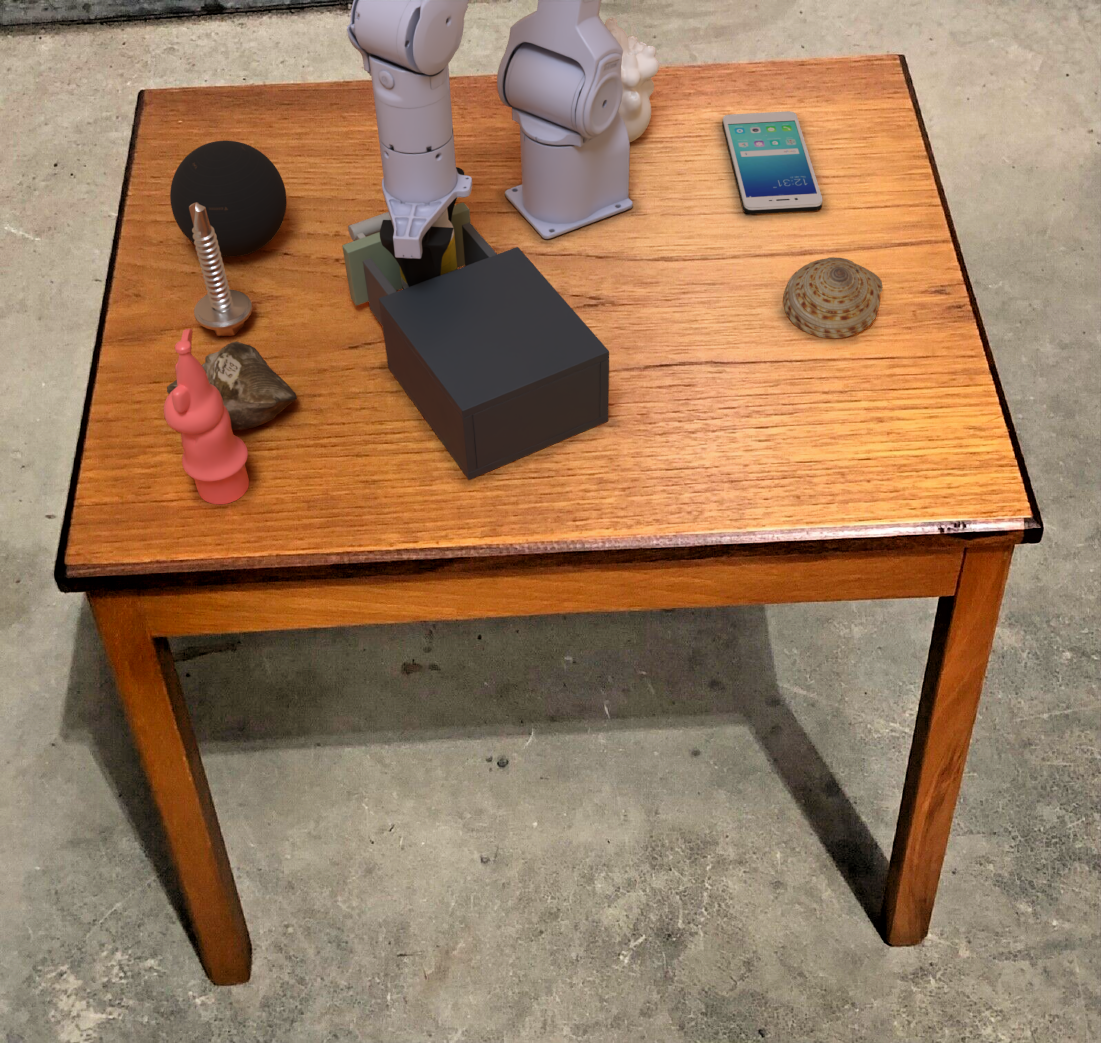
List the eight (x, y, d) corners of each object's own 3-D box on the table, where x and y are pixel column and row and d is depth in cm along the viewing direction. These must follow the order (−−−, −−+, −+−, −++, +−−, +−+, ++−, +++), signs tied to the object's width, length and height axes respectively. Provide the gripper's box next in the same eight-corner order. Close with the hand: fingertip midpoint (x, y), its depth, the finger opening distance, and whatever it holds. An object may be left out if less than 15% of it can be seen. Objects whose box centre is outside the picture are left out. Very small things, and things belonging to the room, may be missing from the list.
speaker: (219, 295, 126) (195, 201, 118) (163, 240, 131) (137, 147, 123) (315, 248, 130) (298, 155, 122) (258, 196, 135) (238, 104, 127)
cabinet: (388, 368, 119) (378, 298, 113) (521, 316, 123) (517, 246, 117) (468, 480, 111) (462, 410, 105) (608, 421, 115) (609, 351, 109)
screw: (202, 309, 125) (258, 307, 125) (195, 347, 121) (252, 344, 121) (169, 185, 115) (230, 183, 115) (160, 223, 111) (223, 220, 112)
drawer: (330, 270, 126) (321, 217, 122) (446, 229, 130) (440, 175, 125) (419, 392, 116) (412, 339, 112) (542, 344, 119) (540, 290, 115)
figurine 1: (191, 462, 113) (146, 318, 101) (257, 458, 113) (219, 313, 101) (186, 512, 109) (139, 368, 98) (253, 506, 110) (214, 362, 98)
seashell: (897, 262, 123) (879, 285, 117) (880, 323, 126) (862, 350, 119) (805, 238, 126) (783, 260, 119) (791, 299, 128) (768, 323, 122)
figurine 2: (669, 144, 139) (674, 32, 130) (612, 168, 137) (614, 55, 127) (626, 111, 143) (629, -1, 134) (571, 133, 140) (570, 21, 131)
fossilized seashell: (143, 409, 113) (253, 460, 112) (162, 332, 111) (275, 384, 109) (192, 390, 120) (296, 438, 118) (212, 317, 118) (318, 365, 116)
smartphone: (796, 110, 141) (825, 203, 131) (795, 117, 141) (824, 211, 131) (720, 114, 140) (744, 208, 131) (720, 121, 141) (743, 215, 131)
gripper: (454, 192, 104) (465, 333, 114) (480, 82, 114) (487, 221, 124) (359, 187, 105) (378, 328, 115) (392, 78, 114) (407, 217, 124)
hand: (429, 272), depth 119 cm, fingers closed on supplement bottle, 4 cm apart
